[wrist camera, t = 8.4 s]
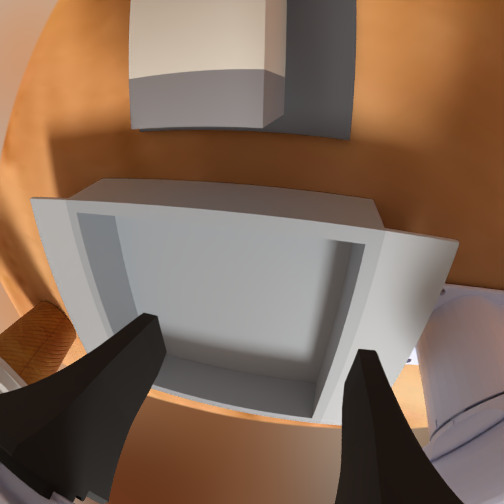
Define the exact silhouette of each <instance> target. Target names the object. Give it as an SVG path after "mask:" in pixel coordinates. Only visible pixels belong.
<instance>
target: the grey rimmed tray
mask: <svg viewBox="0 0 504 504" xmlns="http://www.w3.org/2000/svg"><path fill="white" fill-rule="evenodd" d="M30 201H31V205H32V209H33V213H34V217H35V220H36V224H37V227H38V231H39V234H40V238H41V241H42V244H43V247H44V251H45V254H46V257H47V260H48V263H49V265H50V268H51V271H52V274H53V277H54V279H55V282H56V285H57V287H58V290H59V292H60V295H61V297H62V300H63V302H64V305H65V307H66V309H67V312H68V314H69V316H70V318H71V321H72V323H73V325H74V327H75V329H76V332H77V334H78V336H79V338H80V340H81V342H82V344H83V346H84V348H85V350H86V352H87V354H88V353H89V352H91V351H92V350H94V349H95V348H97V347H98V346H100V345H101V344H102V343H104V342H105V341H106V340H108V339H109V338H110V337H112V336H113V335H114V334H116V333H117V332H118V331H120V330H121V329H122V328H124V327H125V326H126V325H128V324H129V323H130V322H131V321H133V320H134V319H135V318H137V317H138V316H139V315H141V314H142V313H148V314H152V315H156V316H158V320H159V324H160V328H161V332H162V335H163V339H164V343H165V347H166V351H167V353H166V355H165V358H164V361H163V364H162V366H161V369H160V371H159V374H158V376H157V378H156V379H155V381H154V383H153V385H152V387H151V388H152V389H155V390H158V391H162V392H165V393H168V394H171V395H175V396H178V397H182V398H186V399H189V400H193V401H197V402H201V403H205V404H209V405H213V406H217V407H222V408H226V409H231V410H235V411H240V412H245V413H251V414H256V415H262V416H268V417H274V418H280V419H287V420H294V421H302V422H311V423H320V424H331V425H342V402H343V392H344V383H345V380H346V378H347V376H348V373H349V371H350V368H351V366H352V364H353V361H354V359H355V356H356V354H357V351H358V349H367V350H375V351H376V352H377V354H378V356H379V359H380V362H381V364H382V367H383V369H384V372H385V374H386V377H387V379H388V381H389V384H390V386H391V387H392V386H393V384H394V382H395V381H396V379H397V377H398V376H399V374H400V372H401V371H402V369H403V367H404V365H405V364H406V362H407V360H408V358H409V357H410V355H411V353H412V351H413V349H414V347H415V345H416V344H417V342H418V340H419V338H420V336H421V334H422V332H423V330H424V328H425V326H426V324H427V322H428V320H429V317H430V315H431V313H432V311H433V309H434V307H435V304H436V302H437V300H438V298H439V295H440V293H441V291H442V288H443V286H444V283H445V281H446V278H447V276H448V273H449V271H450V268H451V266H452V263H453V260H454V257H455V255H456V252H457V249H458V246H459V241H458V240H455V239H449V238H444V237H438V236H432V235H426V234H420V233H414V232H407V231H401V230H395V229H388V228H384V225H383V223H382V220H381V217H380V215H379V213H378V210H377V208H376V205H375V203H374V200H373V199H367V198H360V197H353V196H346V195H338V194H331V193H323V192H315V191H306V190H297V189H288V188H278V187H268V186H257V185H246V184H233V183H219V182H204V181H185V180H162V179H124V178H103V179H101V180H99V181H97V182H95V183H94V184H92V185H90V186H88V187H86V188H85V189H83V190H81V191H80V192H78V193H76V194H74V195H73V196H71V197H69V198H53V197H32V198H30Z"/></svg>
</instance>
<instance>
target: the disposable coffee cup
mask: <svg viewBox="0 0 504 504" xmlns="http://www.w3.org/2000/svg"><path fill="white" fill-rule="evenodd" d="M75 339H76V333H75V330H74V328H73V326H72V324H71V322H70V321H69V320H68V318H67V317H66V316H65V315H64V314H63V313H62V312H61V311H60V310H59V309H58V308H57V307H56V306H54V305H53V304H51V303H49V302H46V301H42V302H40V303H39V304H38V305H36V306H35V307H34V308H33V309H31V310H30V311H29V312H27V313H26V314H25V315H24V316H22V317H21V318H20V319H19V320H17V321H16V322H15V323H14V324H12V325H11V326H10V327H9V328H8V329H6V330H5V331H4V332H3V333H1V334H0V394H1V393H5V392H9V391H12V390H16V389H19V388H22V387H24V386H27V385H30V384H32V383H35V382H37V381H39V380H41V379H44V378H46V377H48V376H50V375H52V374H54V373H56V372H57V370H58V368H59V367H60V365H61V363H62V361H63V359H64V358H65V356H66V354H67V352H68V350H69V349H70V347H71V345H72V343H73V342H74V340H75Z"/></svg>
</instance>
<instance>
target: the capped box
mask: <svg viewBox="0 0 504 504" xmlns="http://www.w3.org/2000/svg"><path fill="white" fill-rule="evenodd" d="M286 23H287V0H131V4H130V24H129V93H130V114H131V129H145V128H164V127H248V128H264V127H265V126H267V125H268V124H270V123H271V122H273V121H274V120H276V119H277V118H279V117H280V116H282V115H284V95H285V65H286Z"/></svg>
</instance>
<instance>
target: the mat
mask: <svg viewBox="0 0 504 504" xmlns="http://www.w3.org/2000/svg"><path fill="white" fill-rule="evenodd" d="M355 59H356V0H287V23H286V65H285V95H284V115H282V116H280V117H279V118H277V119H276V120H274V121H273V122H271V123H270V124H268V125H267V126H265V127H264V128H248V127H164V128H145V129H140V132H143V131H165V130H239V131H260V132H276V133H289V134H300V135H310V136H320V137H328V138H336V139H344V140H350V132H351V121H352V109H353V96H354V80H355Z"/></svg>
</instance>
